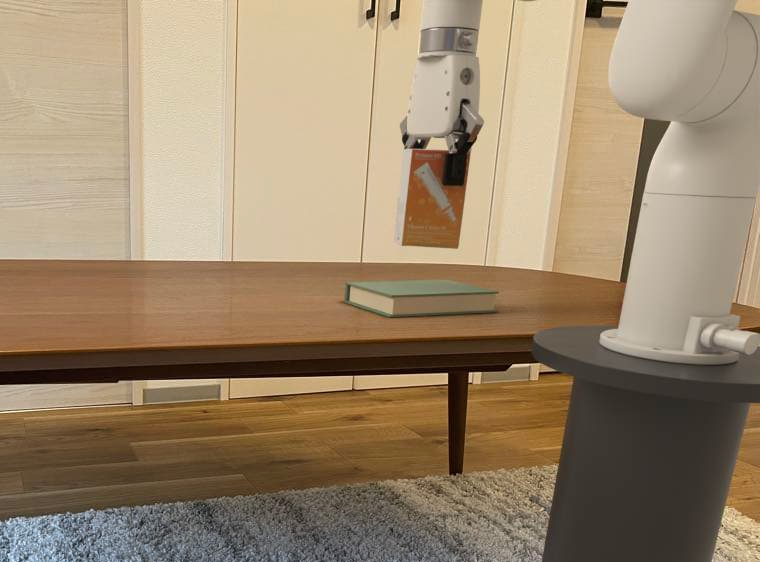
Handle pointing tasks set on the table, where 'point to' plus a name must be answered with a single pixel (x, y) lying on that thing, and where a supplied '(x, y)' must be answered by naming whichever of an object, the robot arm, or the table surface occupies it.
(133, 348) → the table surface
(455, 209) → the small box
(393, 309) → the book
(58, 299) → the table surface
